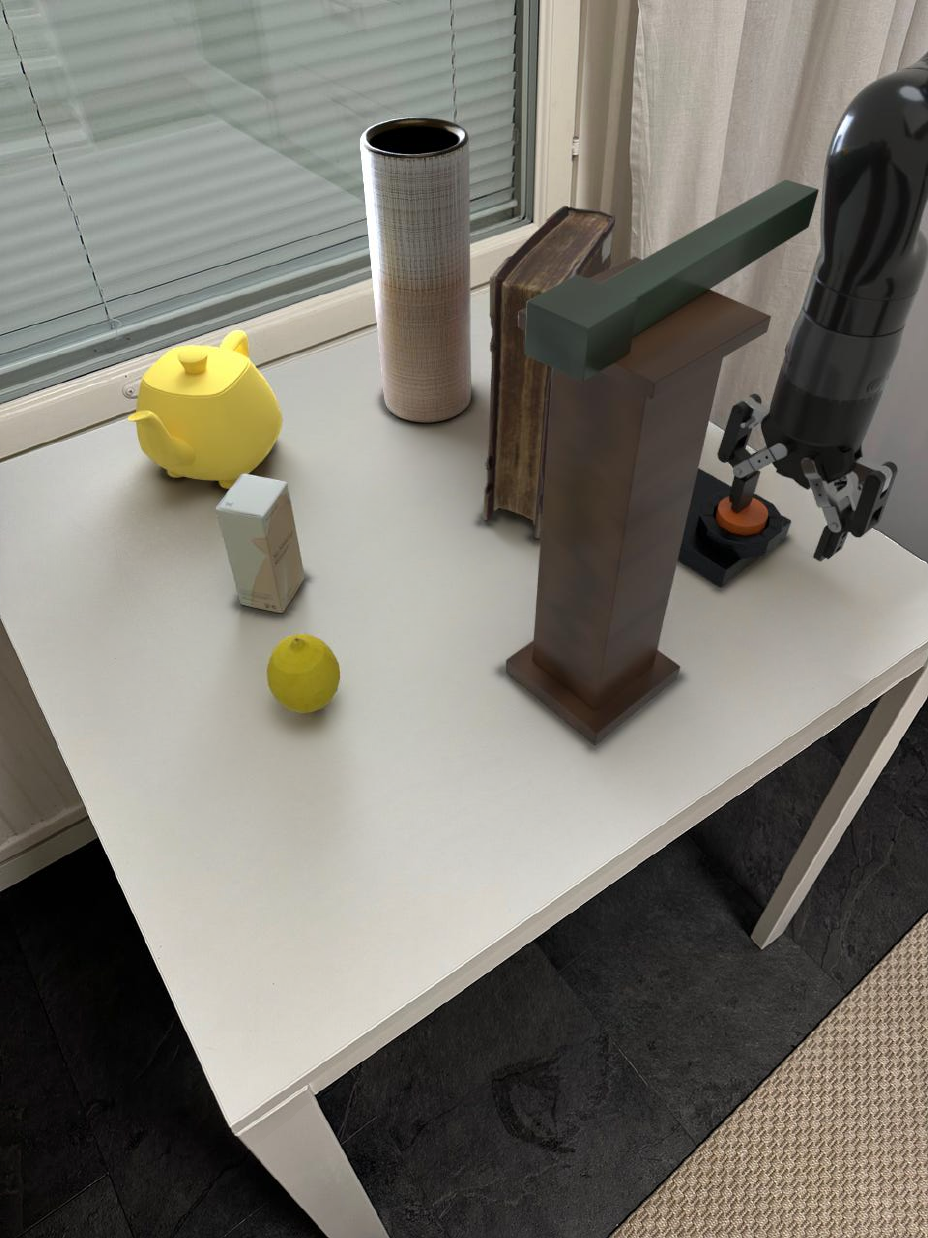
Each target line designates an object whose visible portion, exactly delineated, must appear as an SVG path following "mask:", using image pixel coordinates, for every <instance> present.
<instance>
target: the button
mask: <svg viewBox="0 0 928 1238" xmlns="http://www.w3.org/2000/svg"><path fill="white" fill-rule="evenodd" d="M731 505H732V503H731V502H729V497H726V498H724V499H723V500H722V501H721V502H720V503H719V505H718V509H717V513H716V517H715V520H716V522H717V524H718V525H719V526H721V527H722V528H724V529H726V530H727V531H729V532H731V533H736V534H741V535H752V534H759V533H761V532H762V531H763V530H764V527H765V524H766V521H767V518H768V511H767V508H766V507H765V505H764V504H763V503H761V502H760V501H758V500H757V499H755V498H753V499H752V502H751V503H750V505H749V506H748V507H746V508H745V509H743V510H742V511H741V512H739V513H736V512H735V511H733V510H731Z"/></svg>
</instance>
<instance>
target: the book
mask: <svg viewBox="0 0 928 1238" xmlns="http://www.w3.org/2000/svg"><path fill="white" fill-rule="evenodd" d="M615 223H616V216H615V214H609V213H607V212H605V211H602V210H596V209H589V208H580V207H579V208H577V207H573V206H567V205H562V206H561V207H560V208H558V209H557V210H556V211H555V212H553V213H552V214H551V215H550V216H549V217H547V218H546V219H545V222H544V223H543V224H542V225H541V226H540V227H539V228H538V229H537V230H536V231H535V232H533V234H532V235H531V236H529V237H528V239H526V241H525V242H524V243H522V244H521V246H520V247H519V248H518V249H517V250H516V251H515V252H514V253H513V254H512V255H509V256H508V257H506V258H505V259H504V260H502V262H501V263H500V264H499V266H498V267H497V268H496V269H495V270H494V271H493V273H492V274H491V275H490V276H489V318H490V326H491V339H490V342H489V352H491V372H490V393H489V396H490V397H489V398H490V399H489V424H488V448H487V458H486V462H485V463H484V464H485V470H486V484H485V487H484V492H483V510H482V512H483V513H482V518H483V520H484V521H488V520H489V519H490V518H491V516H492V515H493V514H494V512H495V511H497V510H498V509H501V510H507V511H509V512H513V513H515V514H519V515H521V516H524V518H525V517H526V518H527V519H528V520H529V519H530V520H531V521H532V522H533V523H532V524H533V526H534V530H533V537H534V538H535V539H541V526H542V511H543V497H544V482H545V468H546V453H547V439H548V424H549V410H550V395H551V381H552V367H550V366H548V365H546V364H544V363H542V362H540V361H538V360H536V359H534V358H531V357H529V356H527V355H525V332H526V331H524V330H522V329H520V328H519V327H518V314H519V311H521V310H523V309H525V308H527V301H529V300H530V299H532V298H534V297H536V296H538V295H540V294H542V293H543V292H545V291H547V290H549V289H551V288H553V287H554V286H556V285H558V284H560V283H562V282H564V281H565V280H567V279H569V278H571V277H573V276H575V275H579V276H582V277H584V278H587V279H589V278H591V277H593V276H595V275H597V274H599V273H602V272H604V271H606V270H608V269H610V268H611V265H612V261H611V253H612V246H613V244H612V243H613V237H614V232H615Z"/></svg>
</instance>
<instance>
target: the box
mask: <svg viewBox="0 0 928 1238" xmlns="http://www.w3.org/2000/svg"><path fill="white" fill-rule="evenodd" d="M215 512H216V515H217V520H218V524H219V527H220V532H221V535H222V539H223V543H224V546H225V550H226V554H227V558H228V562H229V565H230V570H231V573H232V577H233V581H234V584H235V588H236V592H237V596H238V600H239V603H240V605H243V606H247V607H250V608H254V609H259V610H263V611H268V612H269V611H270V612H272V613H279V614H282V613H283V614H284V612H285V611H286V609H287V608H288V606H289V605H290V603H291V601H292V600H293V598H294V597H295V595H296V593H297V591H298V590H299V588H300V587H301V585H302V583H303V582H304V580H305V577H306V575H305V571H304V570H305V569H304V566H303V565H304V564H303V561H302V555H301V547H300V543H299V538H298V533H297V528H296V523H295V516H294V512H293V506H292V501H291V495H290V489H289V484H288V482H287V481H283V480H280V479H279V480H278V479H274V478H269V477H265V476H259V475H253V474H250V473H248V474H242V475H241V476H240V477H239V478H238V480H237V481H236V482H235V483H234V485H233V486H232V487H231V488H230V489H228V491H227V492H226V493H225V495H224V496H223V498H222V499H221V500H220V502H219V503H218V505H217V506H216V507H215Z"/></svg>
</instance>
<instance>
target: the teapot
mask: <svg viewBox="0 0 928 1238" xmlns="http://www.w3.org/2000/svg"><path fill="white" fill-rule="evenodd" d="M138 390H139V391H138V394H137V401H136V407H135V412H134V413H132V414H130V415H129V416H128V417H127V418H126V420H127V421H128V422H133V423H135V425H136V434H137V438H138V439H137V440H138V442H139V447H140V448H141V451H142V452H143V453H144V454H145V456H147V458H148V459H149V460H151V461H152V462H153V463H155V464H156V465H158V466H159V467H161V468H162V469H165V470H166V471H167V475H168V476H169V477H172V478H183V477H185V478H188V479H193V480H202V481H218V484H219V486H220V487H221V488H223V489H227V490H230V488H231V487H232V486H233V485H234V483H235V482H236V481H237V480H238V478H239V477H240V476H241V475H242V474H250V473H251V472H252V471H254V470H255V469H256V468H257V467H258V466H259V465H260V464H261V463H262V462H263V461H264V460H265V458H266V457H267V456H268V454H269V453H270V451H272V448H273V447H274V445H275V443H276V442H277V440H278V437H279V435H280V433H281V430H282V428H283V422H284V421H283V420H284V419H283V415H282V411H281V407H280V405H279V402H278V400H277V397H276V395H275V392H274V391H273V389H272V387H271V385H270V384H269V382H268V381H267V380H266V379H265V376H263V374H262V373H261V371H260V370H259V369H258V368H257V367H256V365H255V363H253V362H252V361H251V359H250V342H249V338H248V335H247V333H246V332H245V331H243V330H240V329H235V330H233V331H230V332H229V333H228V334H227V335H226V336H225V337H224V339H223V340H222V342H221V344H220V345H219V346H213V345H201V344H200V345H199V344H189V345H181V346H177V347H173V348H172V349H170V350H168V351H166V352H165V353H164V354H163V355H162V356H161V357H159V358H158V359H157V360H156V361H155V362H154V363H153V364H152V365H151V366H150V367H149V368H148V370H146V371H145V373H144V374H143V376H142V378H141V381H140V384H139V389H138Z"/></svg>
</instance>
